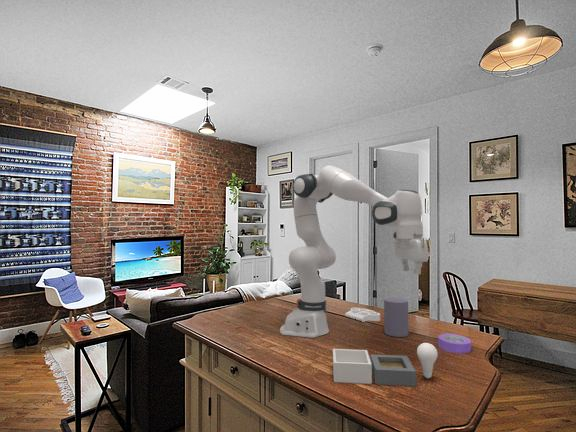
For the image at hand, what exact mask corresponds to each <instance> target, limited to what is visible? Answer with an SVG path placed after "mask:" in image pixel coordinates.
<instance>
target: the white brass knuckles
mask: <svg viewBox="0 0 576 432" xmlns="http://www.w3.org/2000/svg"><path fill="white" fill-rule="evenodd" d="M344 316H345V317H346V318H350V319H352V320H355V319H356V321H360V322H362V323H366V322H379V321H381V313H380V312H376V311H375V310H371V309H368V308H360V307H351V308H350V310H349V311H347V312H345V313H344ZM365 321H366V322H365Z"/></svg>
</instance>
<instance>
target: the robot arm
mask: <svg viewBox="0 0 576 432" xmlns="http://www.w3.org/2000/svg"><path fill="white" fill-rule="evenodd" d="M292 183H293V184H292V191H293V193H294V194H295V196H296V197H295V198H294V200H293V217H294V223H295V230H296V234H297V235H296V236H298V237H299V238H300V239H301V240H303V242H304V243H305V245H306V246H301V247H297V248H294V249H292V250H291V251H290V252H289V256H288V264H289V266H290V268H291V269H292V270H293V271H295V272H296V274H297V276H298V278H299V282H300V292H301V294H300V295H301V296H300V297H301V298H297V299H296V308H295V309H294V310H292V311H291V312H290V313H289V314H287V316H286V318H285V321H284V324H282V325H281V326H280V328H279V332H280V334H281V335H282V336H284V335H285V336H292V337H293V336H294V337H301V338H302V337H303V338H313V339H314V338H316V337H321V336H323V335H327V334H329V332H330V329H329V326H328V320H327V319H328V318H327V314H326V313H327V312H328V311H327V300H326V283H325V282H324V280H323V279H321V278H320V276H319V274H318V270H324V269H326V268H327V269H328V268H330V267H331V266H333V265H334V264H335V262H336V259H337V255H336V251H335V250H334V248H333V247H331V246H330V245H329V244H328V243H327V240H326V239H325V238H324V236H323V234H322V233H323V232H322V230H321V226H320V223H319V216H318V215H319V214H318V211H317V204H318V203H323V202H325V201H326V200H327V199H329V198H331V197H332V196H333V195H334V196H336V197H337V198H339V199H341V200H344V201H351V202H356V203H357V202H358V203H364V204H367V205H368V206H372V208H371V209H372V210H371V217H372V219H373V221H374V222H375V223H376V224H377V225H380V226H383V227H385V226H387V227H388V226H389V227H392V226H393V227H396V230H395V231H394V232H393V233H392V238H393V239H394V242H393V243H394V251H395V252H394V253H395V256H396V258H398V259H400V262H401V264H402V270H403V271H404V272H410V265H409V261H412V262H414V265H415V266H414V269H413V273H414V274H415V275H421V274H422V267H423V263H424V262H425V263H427V262H428V260H429V257H430V256H429V248H428V242H427V240H426V239H425V237H424V230H423V229H424V226H423V221H422V216H423V207H422V205H423V204H422V199H421V196H420V193H419V192H418V191H417V190H412V189H411V190H410V189H397V190H396V192H395V193H393V195H391V196H389V197H388V196H386V195H384V194H382V193H381V192H378V191H377V190H375V189H373V188H371V187H370V186H368V185H367V184H365V183H364V182H362V181H361V180H360V179H359V178H357V177H355V176H354V175H352V174H351V173H349V172H348V171H346V170H344V169H342V168H340V167H338V166H334V165H330V164H329V165H326V166H323V168H322V169H320V171H319V173H317V174H316V175H315V174H314V173H306V174H300V175H298V176H296V177H295V179H294V180H293V182H292Z"/></svg>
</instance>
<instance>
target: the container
mask: <svg viewBox="0 0 576 432" xmlns="http://www.w3.org/2000/svg"><path fill="white" fill-rule="evenodd" d="M383 314H384V315H383V319H384V320H383V323H384V324H383V327H384V328H383V329H384V332H383V333H384V334H385V335H387V336H389V337H393V338H404V337H408V336H409V334H410V333H409V327H410V326H409V300H408V299H406V298H404V297H403V298H401V297H385V298H384V299H383Z"/></svg>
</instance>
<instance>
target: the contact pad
mask: <svg viewBox="0 0 576 432" xmlns="http://www.w3.org/2000/svg"><path fill="white" fill-rule="evenodd" d="M379 363H380V365H381V367H390V368H403V366H402V364H401V363H391V362H379Z"/></svg>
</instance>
